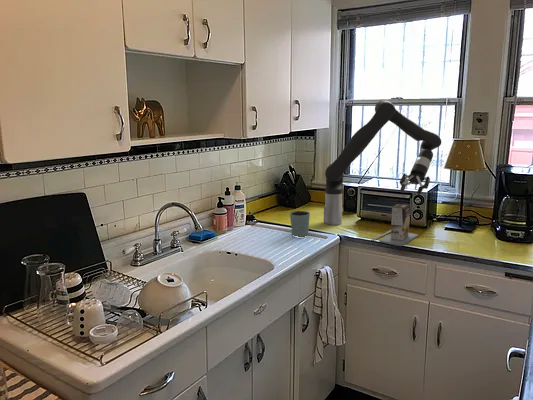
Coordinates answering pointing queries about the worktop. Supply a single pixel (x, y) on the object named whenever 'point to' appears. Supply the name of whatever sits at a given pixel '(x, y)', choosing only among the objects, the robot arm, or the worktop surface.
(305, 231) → the grey green cup
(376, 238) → the tan thin rod
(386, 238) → the mat
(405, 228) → the coffee box
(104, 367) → the worktop surface
